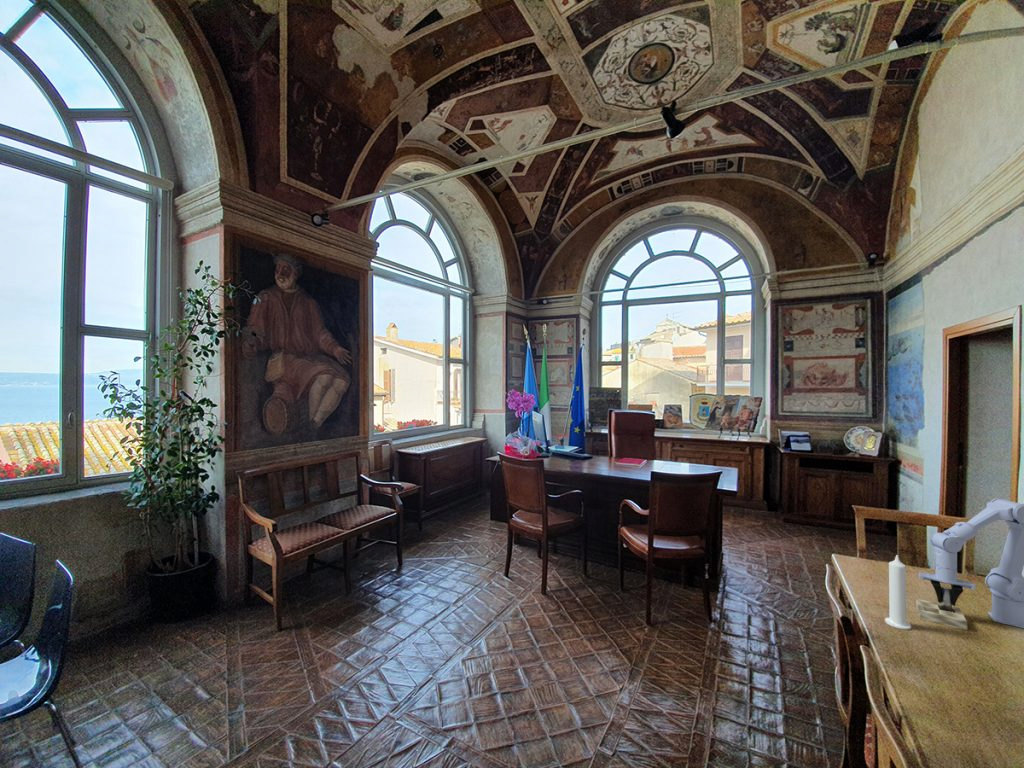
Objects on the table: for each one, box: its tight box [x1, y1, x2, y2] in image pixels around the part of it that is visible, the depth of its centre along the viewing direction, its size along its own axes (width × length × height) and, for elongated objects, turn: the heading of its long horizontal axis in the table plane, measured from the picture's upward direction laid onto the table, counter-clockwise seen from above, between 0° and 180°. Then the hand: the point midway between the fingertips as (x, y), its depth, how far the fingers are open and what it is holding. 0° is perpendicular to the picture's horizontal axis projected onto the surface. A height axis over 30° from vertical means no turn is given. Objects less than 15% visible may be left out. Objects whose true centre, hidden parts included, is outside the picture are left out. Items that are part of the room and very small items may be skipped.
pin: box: [940, 586, 953, 612], centre depth 158 cm, size 3×3×8 cm
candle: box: [884, 554, 912, 631], centre depth 153 cm, size 7×7×25 cm
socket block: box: [915, 598, 968, 631], centre depth 157 cm, size 12×12×3 cm
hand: (946, 603), depth 158 cm, fingers closed on pin, 3 cm apart
